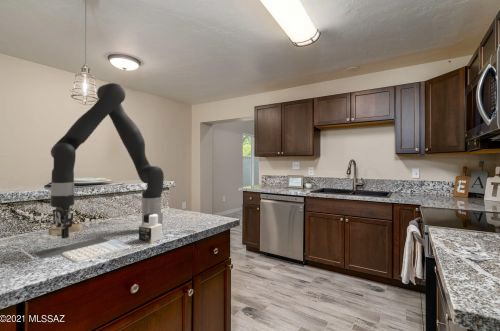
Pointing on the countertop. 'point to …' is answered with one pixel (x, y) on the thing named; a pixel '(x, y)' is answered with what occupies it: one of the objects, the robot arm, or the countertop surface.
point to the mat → (69, 248)
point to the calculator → (94, 250)
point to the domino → (59, 230)
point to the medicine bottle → (150, 229)
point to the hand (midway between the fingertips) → (62, 236)
